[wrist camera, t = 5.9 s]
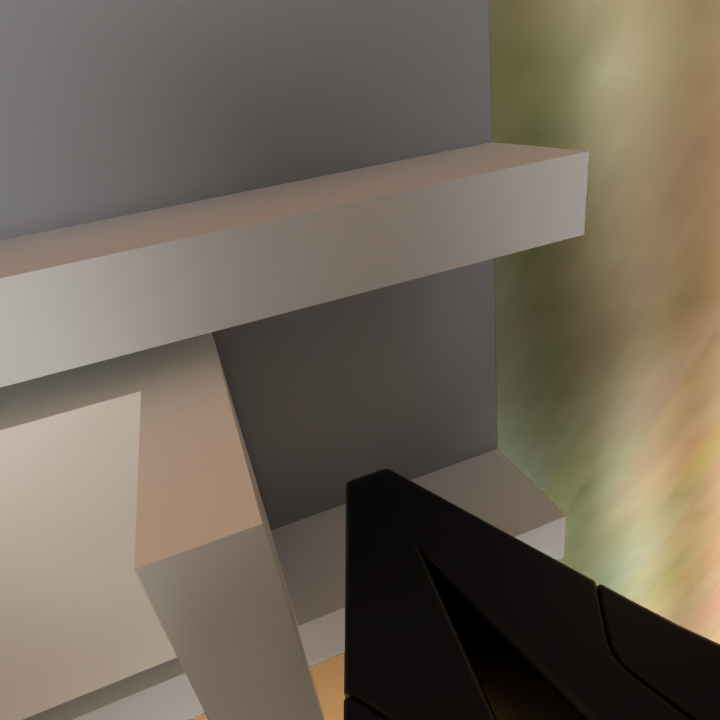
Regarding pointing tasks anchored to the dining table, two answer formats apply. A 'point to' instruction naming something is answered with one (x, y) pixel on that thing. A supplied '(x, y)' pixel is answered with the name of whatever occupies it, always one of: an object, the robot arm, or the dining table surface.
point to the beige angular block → (140, 541)
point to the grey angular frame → (279, 250)
